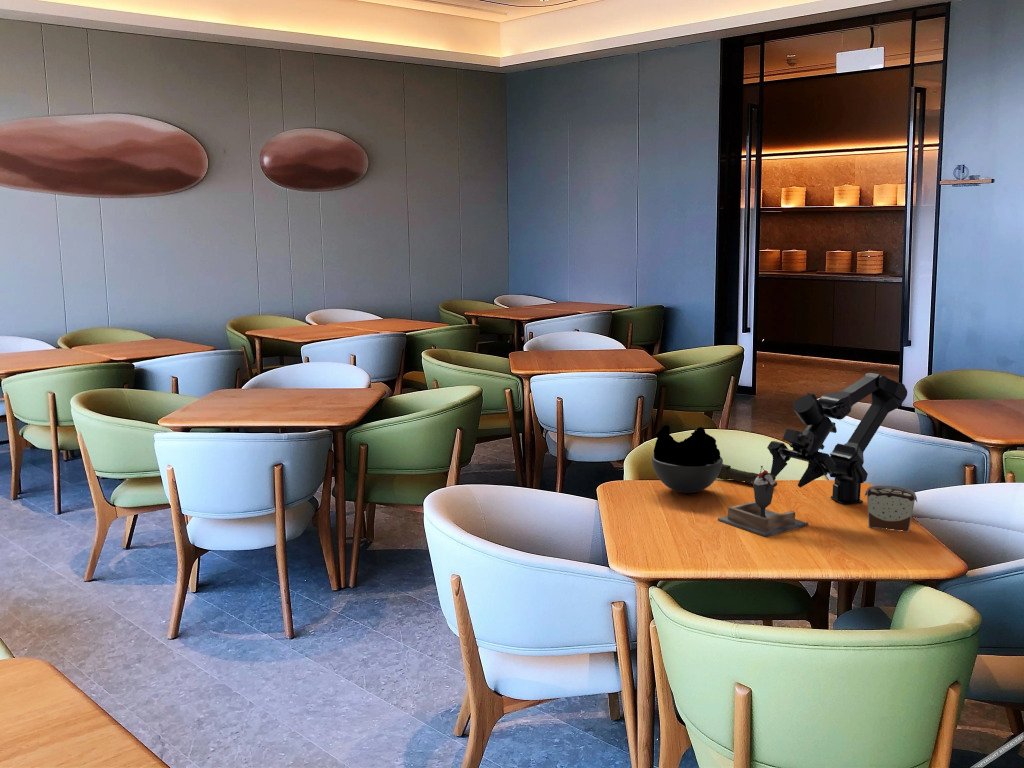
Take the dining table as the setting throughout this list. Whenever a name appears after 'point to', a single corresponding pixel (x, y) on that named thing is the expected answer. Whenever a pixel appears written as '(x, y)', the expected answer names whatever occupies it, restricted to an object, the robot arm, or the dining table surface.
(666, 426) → the coal bowl
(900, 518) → the food container
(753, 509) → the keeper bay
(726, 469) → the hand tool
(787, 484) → the dining table surface
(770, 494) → the sundae
